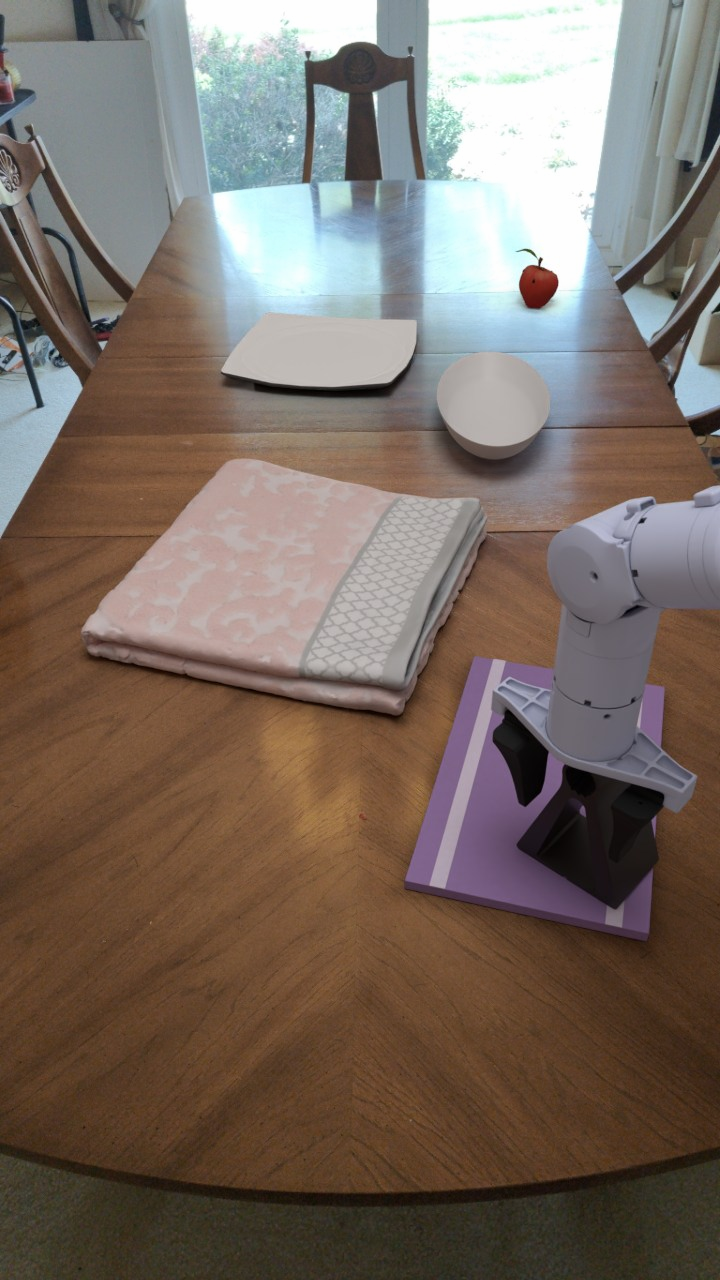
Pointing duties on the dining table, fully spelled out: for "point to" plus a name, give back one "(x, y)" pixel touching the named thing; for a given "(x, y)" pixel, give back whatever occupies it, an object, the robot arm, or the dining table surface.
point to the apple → (537, 284)
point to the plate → (323, 352)
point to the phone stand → (588, 838)
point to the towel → (295, 587)
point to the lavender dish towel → (509, 819)
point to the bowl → (493, 403)
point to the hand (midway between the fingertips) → (573, 824)
